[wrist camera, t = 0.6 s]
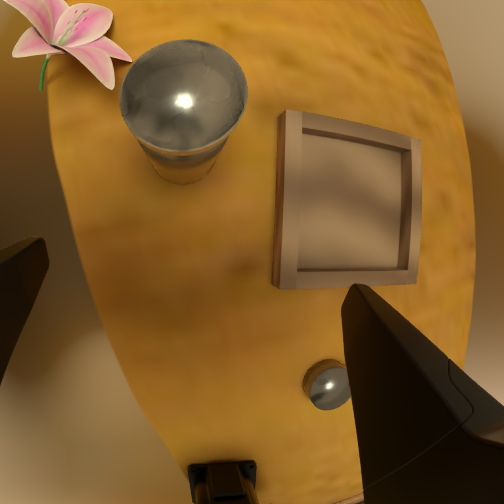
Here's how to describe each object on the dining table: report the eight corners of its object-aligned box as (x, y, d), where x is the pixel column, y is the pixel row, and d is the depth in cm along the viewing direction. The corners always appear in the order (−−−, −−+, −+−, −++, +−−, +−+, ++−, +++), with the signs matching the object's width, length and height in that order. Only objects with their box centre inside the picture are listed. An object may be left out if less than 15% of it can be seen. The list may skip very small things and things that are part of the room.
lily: (122, 144, 20) (165, 47, 13) (-24, 151, 14) (-47, 50, 6) (124, 46, 22) (162, -34, 15) (11, 45, 16) (22, -41, 8)
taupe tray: (400, 279, 26) (416, 283, 24) (270, 282, 23) (279, 289, 21) (404, 144, 25) (420, 139, 22) (276, 118, 22) (285, 109, 20)
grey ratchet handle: (425, 341, 27) (439, 348, 25) (418, 375, 28) (430, 383, 26) (304, 361, 24) (314, 373, 22) (300, 400, 25) (309, 413, 23)
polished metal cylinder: (215, 186, 21) (245, 154, 10) (148, 184, 20) (111, 151, 9) (218, 122, 21) (250, 44, 10) (153, 120, 20) (130, 39, 9)
